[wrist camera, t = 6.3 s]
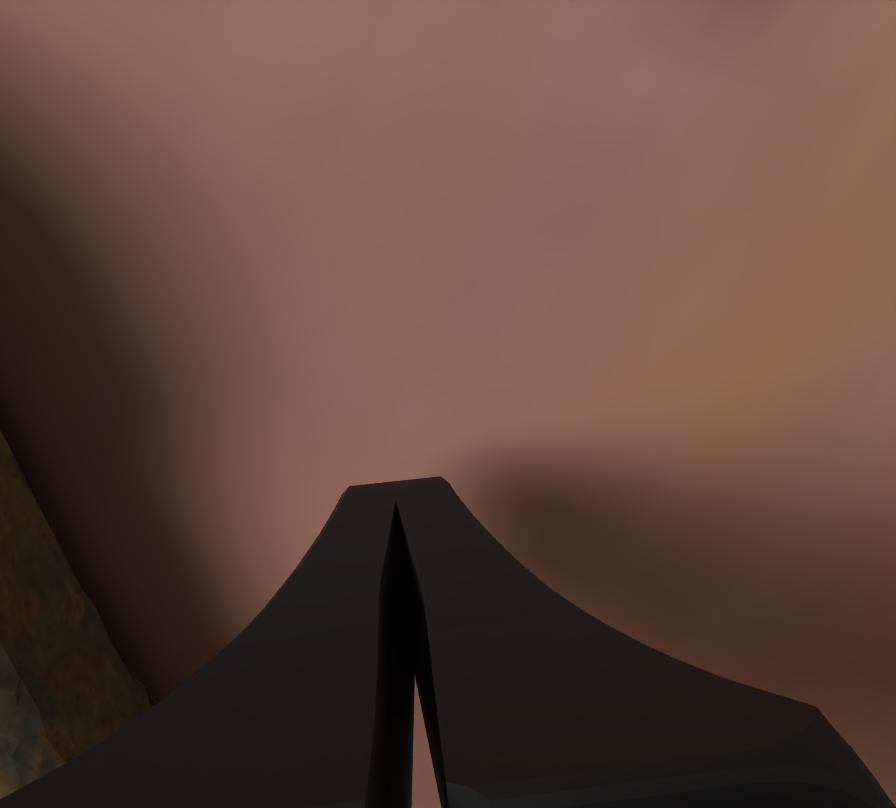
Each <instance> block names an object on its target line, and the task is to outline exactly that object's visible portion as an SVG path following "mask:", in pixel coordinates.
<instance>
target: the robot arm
mask: <svg viewBox="0 0 896 808" xmlns="http://www.w3.org/2000/svg"><path fill="white" fill-rule="evenodd" d="M415 678H416V683H417V688H418V693H419V698H420V703H421V708H422V713H423V718H424V723H425V728H426V733H427V738H428V743H429V748H430V753H431V758H432V763H433V768H434V773H435V778H436V783H437V788H438V793H439V798H440V803H441V808H896V807H895V806H894V804H893V803H892V802H891V800H890V799H889V797H888V796H887V794H886V793H885V792H884V790H883V789H882V787H881V786H880V784H879V783H878V782H877V780H876V779H875V777H874V776H873V775H872V773H871V772H870V771H869V769H868V768H867V767H866V766H865V764H864V763H863V762H862V760H861V759H860V758H859V757H858V755H857V754H856V753H855V751H854V750H853V749H852V748H851V747H850V745H849V744H848V743H847V742H846V741H845V740H844V739H843V738H842V736H841V735H840V734H839V733H838V732H837V731H836V730H835V729H834V727H833V726H832V725H831V724H830V723H829V722H828V721H827V719H826V718H825V717H824V716H823V714H822V713H821V712H820V711H819V709H818V708H817V707H815V706H812V705H809V704H805V703H802V702H799V701H796V700H793V699H789V698H786V697H783V696H780V695H776V694H773V693H770V692H767V691H763V690H760V689H757V688H754V687H750V686H747V685H744V684H741V683H738V682H734V681H731V680H728V679H725V678H723V677H720V676H717V675H715V674H712V673H710V672H707V671H705V670H702V669H700V668H697V667H695V666H692V665H690V664H687V663H685V662H682V661H680V660H677V659H675V658H673V657H670V656H668V655H666V654H664V653H662V652H659V651H657V650H655V649H653V648H651V647H649V646H646V645H644V644H642V643H640V642H638V641H636V640H635V639H633V638H631V637H629V636H627V635H625V634H623V633H621V632H620V631H618V630H616V629H614V628H612V627H610V626H608V625H606V624H604V623H603V622H601V621H599V620H598V619H596V618H594V617H593V616H591V615H589V614H588V613H586V612H584V611H583V610H581V609H580V608H578V607H577V606H575V605H574V604H572V603H571V602H569V601H568V600H566V599H565V598H563V597H562V596H560V595H559V594H558V593H556V592H555V591H553V590H552V589H550V588H549V587H548V586H547V585H545V584H544V583H543V582H542V581H540V580H539V579H538V578H537V577H536V576H535V575H533V574H532V573H531V572H530V571H529V570H528V569H526V568H525V567H524V566H523V565H522V564H521V563H519V562H518V561H517V560H516V559H515V558H514V557H513V556H512V555H511V554H510V553H509V552H508V551H507V550H506V549H505V548H504V547H503V546H502V545H501V544H500V543H499V542H498V541H497V540H496V539H495V538H494V537H493V536H492V535H491V534H490V533H489V532H488V531H487V530H486V529H485V528H484V527H483V526H482V525H481V524H480V522H479V521H478V520H477V519H476V518H475V517H474V516H473V514H472V513H471V512H470V511H469V510H468V508H467V507H466V506H465V505H464V503H463V502H462V501H461V500H460V498H459V497H458V496H457V494H456V493H455V491H454V490H453V488H452V487H451V485H450V484H449V483H448V482H447V481H446V480H445V479H443V478H442V477H441V476H440V477H431V478H422V479H412V480H403V481H394V482H384V483H375V484H366V485H356V486H349V487H348V488H347V489H346V491H345V492H344V493H343V494H342V495H341V497H340V499H339V501H338V503H337V505H336V507H335V509H334V510H333V512H332V514H331V516H330V517H329V519H328V521H327V522H326V524H325V526H324V527H323V529H322V530H321V532H320V534H319V535H318V537H317V538H316V540H315V541H314V543H313V544H312V546H311V547H310V549H309V550H308V551H307V553H306V554H305V556H304V557H303V559H302V560H301V562H300V563H299V565H298V566H297V567H296V569H295V570H294V571H293V573H292V574H291V575H290V576H289V578H288V579H287V580H286V581H285V583H284V584H283V585H282V586H281V588H280V589H279V590H278V591H277V593H276V594H275V595H274V596H273V598H272V599H271V600H270V601H269V603H268V604H267V605H266V606H265V607H264V609H263V610H262V611H261V612H260V613H259V614H258V615H257V616H256V617H255V619H254V620H253V621H252V622H251V623H250V624H249V625H248V626H247V627H246V628H245V629H244V630H243V631H242V632H241V633H240V634H239V635H238V636H237V637H236V638H235V639H234V640H233V641H232V642H231V643H230V644H229V645H228V646H227V647H226V648H225V649H224V650H222V651H221V652H220V653H219V654H218V655H217V656H216V657H215V658H213V659H212V660H211V661H210V662H208V663H207V664H206V665H205V666H204V667H202V668H201V669H200V670H199V671H197V672H196V673H195V674H194V675H193V676H191V677H190V678H189V679H188V680H186V681H185V682H184V683H183V684H181V685H180V686H179V687H178V688H177V689H175V690H174V691H173V692H172V693H170V694H169V695H168V696H167V697H165V698H164V699H163V700H161V701H160V702H159V703H157V704H156V705H155V706H153V707H152V708H150V709H149V710H147V711H146V712H145V713H143V714H142V715H140V716H139V717H138V718H136V719H135V720H133V721H132V722H130V723H129V724H128V725H126V726H124V727H123V728H121V729H120V730H118V731H117V732H115V733H114V734H112V735H111V736H109V737H108V738H106V739H104V740H103V741H101V742H100V743H98V744H97V745H95V746H94V747H92V748H90V749H89V750H87V751H85V752H84V753H82V754H81V755H79V756H77V757H76V758H74V759H72V760H71V761H69V762H67V763H65V764H64V765H62V766H60V767H58V768H56V769H54V770H53V771H51V772H49V773H47V774H45V775H44V776H42V777H40V778H38V779H36V780H35V781H33V782H31V783H29V784H27V785H25V786H24V787H22V788H20V789H18V790H16V791H15V792H13V793H11V794H9V795H7V796H6V797H4V798H2V799H0V808H411V806H412V767H413V728H414V685H415Z"/></svg>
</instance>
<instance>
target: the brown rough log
mask: <svg viewBox="0 0 896 808" xmlns="http://www.w3.org/2000/svg"><path fill="white" fill-rule="evenodd" d="M149 709H150V701H149V698H148V695H147V692H146V689H145V686H144V683H142V682H140V681H139V680H137V679H136V678H134V677H133V676H131V675H130V674H129V672H128V671H127V669H126V667H125V665H124V663H123V662H122V660H121V658H120V656H119V655H118V653H117V651H116V649H115V647H114V646H113V644H112V642H111V640H110V638H109V636H108V634H107V631H106V629H105V627H104V625H103V622H102V620H101V618H100V616H99V613H98V611H97V609H96V607H95V606H94V605H93V603H92V602H91V601H90V599H89V598H88V596H87V595H86V594H85V592H84V591H83V590H82V588H81V586H80V585H79V583H78V581H77V579H76V577H75V575H74V573H73V571H72V569H71V567H70V565H69V563H68V561H67V559H66V557H65V556H64V554H63V552H62V550H61V548H60V546H59V544H58V542H57V540H56V538H55V535H54V533H53V531H52V530H51V528H50V526H49V524H48V522H47V521H46V519H45V517H44V515H43V513H42V512H41V510H40V508H39V506H38V504H37V502H36V500H35V498H34V495H33V493H32V491H31V489H30V487H29V484H28V482H27V480H26V478H25V476H24V475H23V473H22V471H21V469H20V467H19V465H18V463H17V461H16V459H15V457H14V455H13V453H12V451H11V449H10V447H9V445H8V443H7V441H6V439H5V437H4V435H3V434H2V432H1V430H0V799H2V798H4V797H6V796H7V795H9V794H11V793H13V792H15V791H16V790H18V789H20V788H22V787H24V786H25V785H27V784H29V783H31V782H33V781H35V780H36V779H38V778H40V777H42V776H44V775H45V774H47V773H49V772H51V771H53V770H54V769H56V768H58V767H60V766H62V765H64V764H65V763H67V762H69V761H71V760H72V759H74V758H76V757H77V756H79V755H81V754H82V753H84V752H85V751H87V750H89V749H90V748H92V747H94V746H95V745H97V744H98V743H100V742H101V741H103V740H104V739H106V738H108V737H109V736H111V735H112V734H114V733H115V732H117V731H118V730H120V729H121V728H123V727H124V726H126V725H128V724H129V723H130V722H132V721H133V720H135V719H136V718H138V717H139V716H140V715H142V714H143V713H145V712H146V711H147V710H149Z"/></svg>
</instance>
